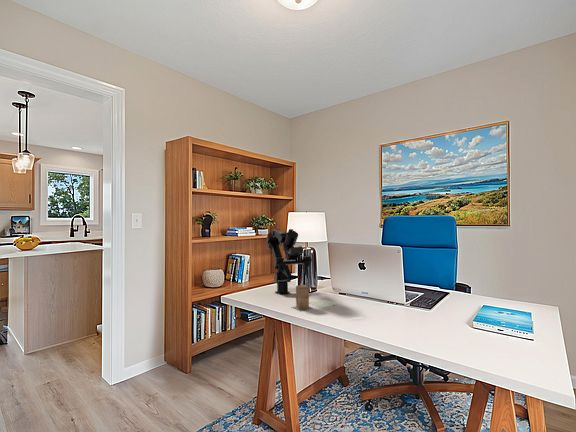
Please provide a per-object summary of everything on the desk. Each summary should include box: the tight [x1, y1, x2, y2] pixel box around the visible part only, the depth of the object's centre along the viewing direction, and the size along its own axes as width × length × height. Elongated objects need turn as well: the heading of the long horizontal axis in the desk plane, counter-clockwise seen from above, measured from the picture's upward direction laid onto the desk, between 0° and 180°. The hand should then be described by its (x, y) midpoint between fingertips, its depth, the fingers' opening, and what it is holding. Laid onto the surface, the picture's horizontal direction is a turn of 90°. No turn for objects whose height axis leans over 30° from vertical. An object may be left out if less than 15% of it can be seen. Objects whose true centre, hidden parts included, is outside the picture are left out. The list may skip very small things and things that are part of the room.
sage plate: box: [309, 299, 337, 309], centre depth 151 cm, size 10×10×1 cm
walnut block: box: [295, 284, 310, 310], centre depth 145 cm, size 5×5×10 cm
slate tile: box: [290, 305, 315, 312], centre depth 145 cm, size 8×8×1 cm
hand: (297, 276), depth 152 cm, fingers open, 9 cm apart
